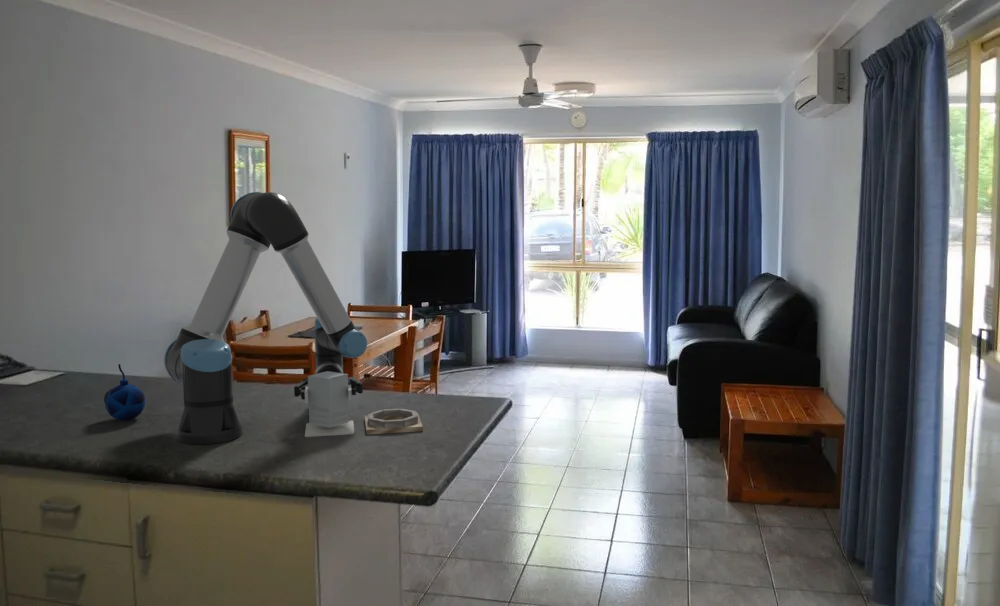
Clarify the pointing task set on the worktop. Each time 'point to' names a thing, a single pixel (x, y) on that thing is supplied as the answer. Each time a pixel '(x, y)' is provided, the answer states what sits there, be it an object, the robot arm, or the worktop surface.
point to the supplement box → (328, 399)
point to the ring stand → (393, 421)
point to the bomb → (124, 400)
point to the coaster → (329, 430)
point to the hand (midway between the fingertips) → (328, 396)
